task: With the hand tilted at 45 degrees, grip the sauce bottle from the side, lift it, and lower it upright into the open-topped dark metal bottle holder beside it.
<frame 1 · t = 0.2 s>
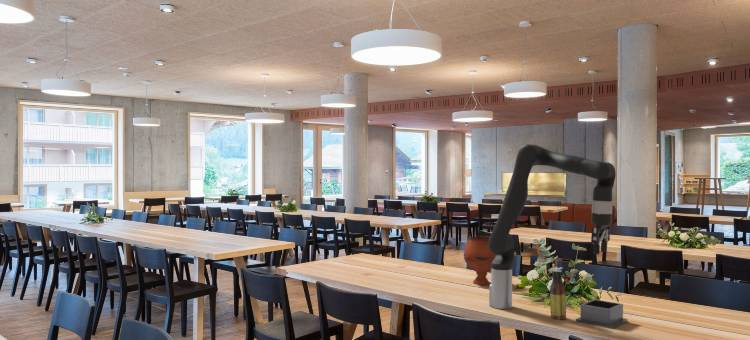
hand: (600, 253, 220), 29 cm above the table, tool pointing down, fingers open, 8 cm apart
sauce bottle: (558, 318, 231), on the table
goblet: (481, 283, 302), on the table
bottle holder: (601, 321, 226), on the table
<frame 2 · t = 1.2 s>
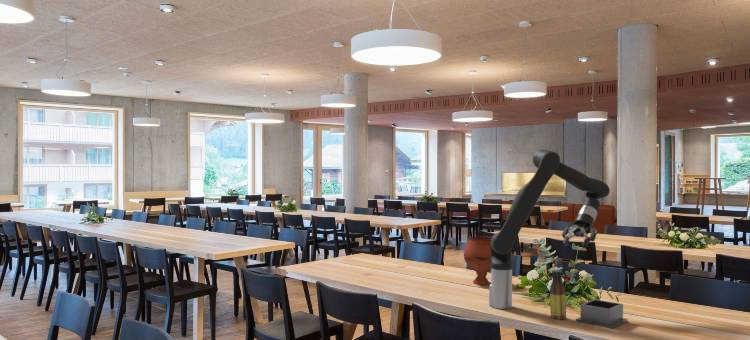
hand: (574, 246, 241), 29 cm above the table, tool tilted 45°, fingers open, 8 cm apart
nothing on the table moved.
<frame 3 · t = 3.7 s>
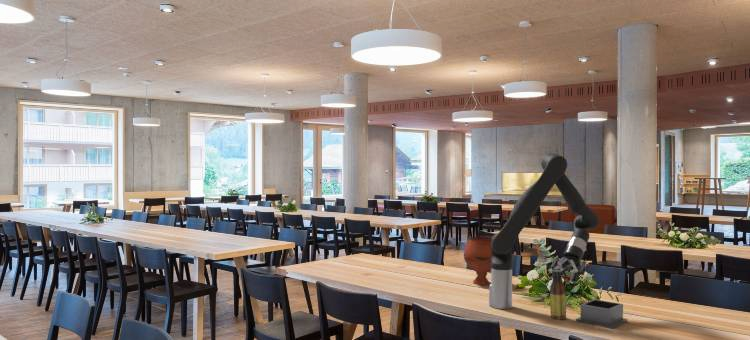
hand: (563, 279, 234), 15 cm above the table, tool tilted 45°, fingers open, 8 cm apart
nothing on the table moved.
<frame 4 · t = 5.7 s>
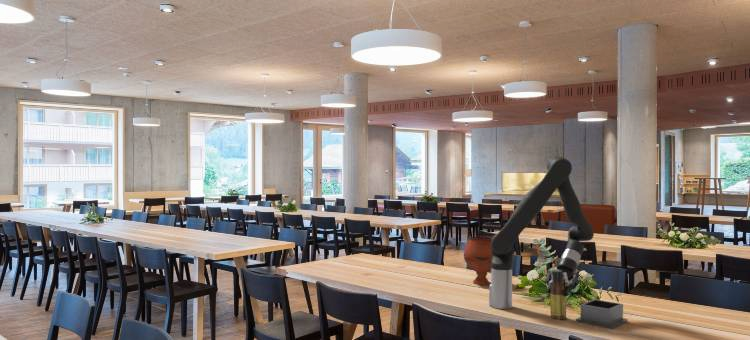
hand: (556, 293, 230), 10 cm above the table, tool tilted 45°, fingers closed on sauce bottle, 6 cm apart
sauce bottle: (558, 318, 231), on the table, touching gripper
everything else where it was.
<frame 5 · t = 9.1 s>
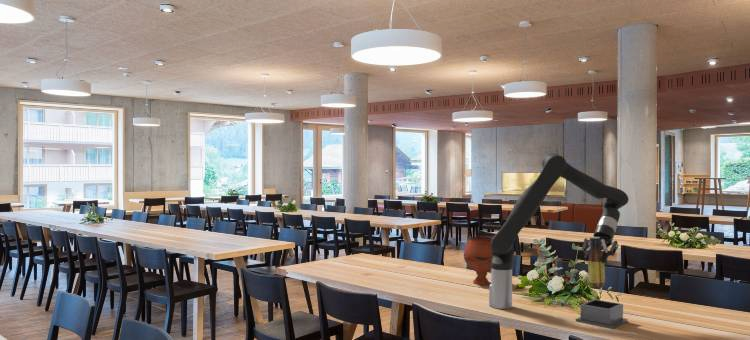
hand: (594, 261, 226), 25 cm above the table, tool tilted 45°, fingers closed on sauce bottle, 6 cm apart
sauce bottle: (596, 286, 227), point 14 cm above the table, touching gripper
everything else where it was.
when the fingers open (13 cm above the table, at t = 12.8 s): sauce bottle drops 1 cm, resting on bottle holder.
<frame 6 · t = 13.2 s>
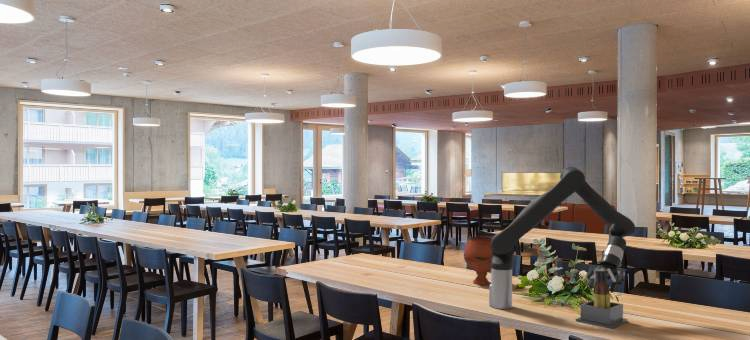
hand: (600, 289, 225), 13 cm above the table, tool tilted 45°, fingers open, 8 cm apart
sauce bottle: (602, 319, 226), point 1 cm above the table, touching bottle holder
everything else where it was.
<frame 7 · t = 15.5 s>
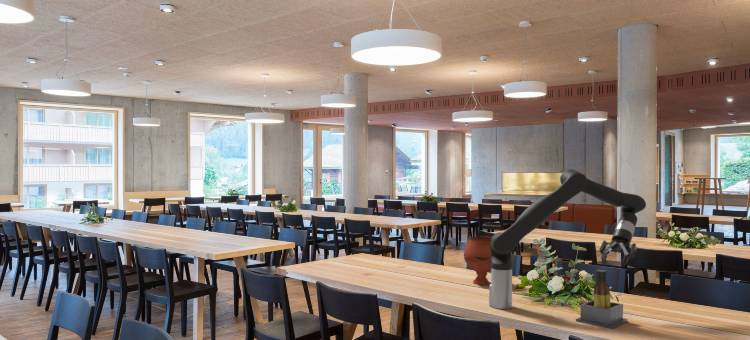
hand: (613, 262, 234), 23 cm above the table, tool tilted 45°, fingers open, 8 cm apart
nothing on the table moved.
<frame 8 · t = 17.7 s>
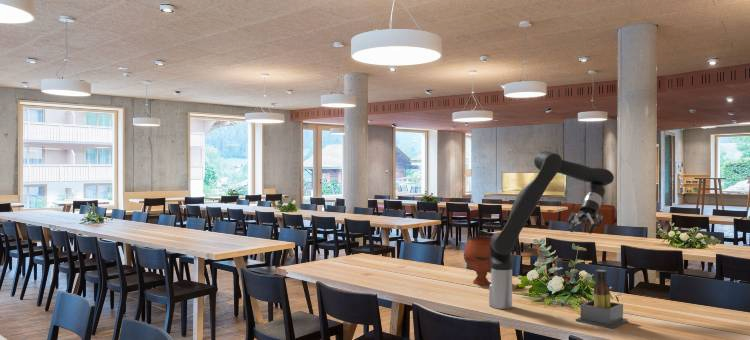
hand: (580, 231, 244), 35 cm above the table, tool tilted 45°, fingers open, 8 cm apart
nothing on the table moved.
at the end: sauce bottle 0.2 cm off-centre on the bottle holder, point 0.8 cm above the bottle holder's base; sauce bottle tilted 0°; the gripper is holding nothing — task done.
